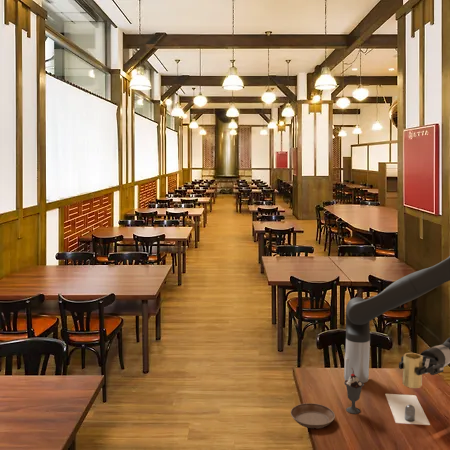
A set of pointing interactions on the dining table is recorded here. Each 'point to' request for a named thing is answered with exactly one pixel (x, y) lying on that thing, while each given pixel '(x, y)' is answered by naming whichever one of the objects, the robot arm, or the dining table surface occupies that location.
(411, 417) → the post
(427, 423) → the mat
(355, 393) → the sundae
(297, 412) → the saucer
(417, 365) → the sleeve
